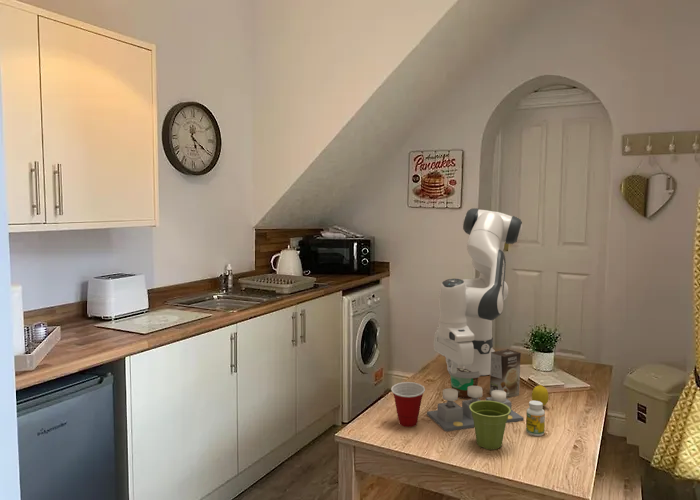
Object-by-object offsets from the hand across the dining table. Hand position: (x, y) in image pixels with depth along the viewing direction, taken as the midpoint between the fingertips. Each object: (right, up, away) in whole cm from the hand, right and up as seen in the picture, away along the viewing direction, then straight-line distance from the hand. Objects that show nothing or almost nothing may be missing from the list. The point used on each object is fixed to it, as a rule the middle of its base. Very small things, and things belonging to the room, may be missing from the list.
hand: (452, 372), depth 178 cm
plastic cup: (-14, -17, 0) cm, 22 cm away
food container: (+7, -14, +24) cm, 29 cm away
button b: (+8, -12, +4) cm, 16 cm away
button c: (0, -13, +2) cm, 13 cm away
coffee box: (+24, -14, +25) cm, 37 cm away
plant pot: (+8, -18, -15) cm, 25 cm away
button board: (+8, -16, +5) cm, 19 cm away
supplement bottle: (+24, -17, -7) cm, 31 cm away
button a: (+17, -15, +7) cm, 23 cm away
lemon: (+33, -15, +13) cm, 39 cm away
